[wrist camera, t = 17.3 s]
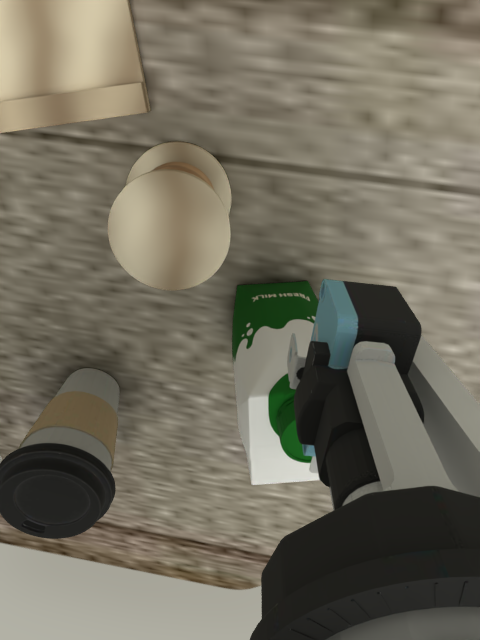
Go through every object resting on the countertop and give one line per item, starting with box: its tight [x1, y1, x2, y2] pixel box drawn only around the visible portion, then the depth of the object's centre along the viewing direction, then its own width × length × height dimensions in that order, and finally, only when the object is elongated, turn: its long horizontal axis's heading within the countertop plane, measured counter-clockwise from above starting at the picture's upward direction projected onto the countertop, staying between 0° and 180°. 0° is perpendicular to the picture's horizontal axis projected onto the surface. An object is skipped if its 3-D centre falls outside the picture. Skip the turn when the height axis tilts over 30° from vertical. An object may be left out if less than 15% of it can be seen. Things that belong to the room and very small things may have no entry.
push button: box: [250, 279, 480, 640], centre depth 10 cm, size 7×5×10 cm
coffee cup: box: [0, 368, 120, 539], centre depth 42 cm, size 9×9×15 cm
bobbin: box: [108, 141, 232, 290], centre depth 34 cm, size 9×9×11 cm
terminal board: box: [0, 0, 151, 133], centre depth 31 cm, size 14×14×3 cm
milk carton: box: [232, 281, 320, 485], centre depth 37 cm, size 9×9×20 cm
